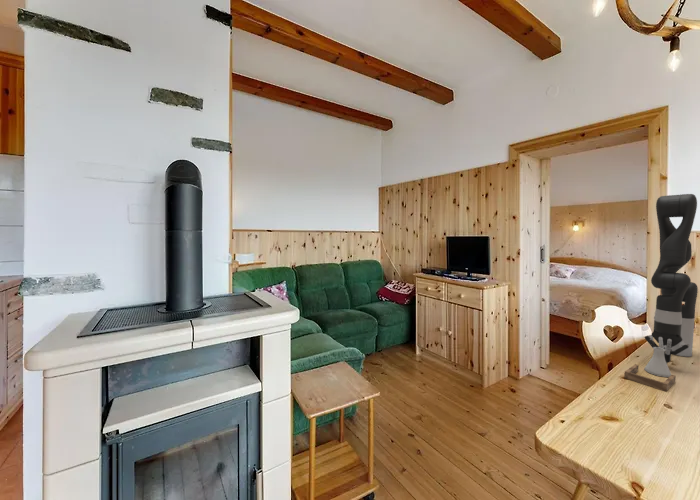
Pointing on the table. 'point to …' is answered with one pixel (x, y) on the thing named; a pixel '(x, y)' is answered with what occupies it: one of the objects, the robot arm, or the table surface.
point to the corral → (648, 379)
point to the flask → (658, 363)
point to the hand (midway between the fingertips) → (664, 362)
